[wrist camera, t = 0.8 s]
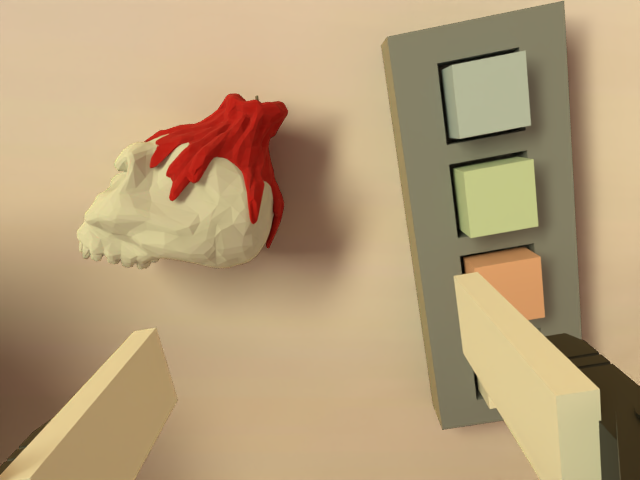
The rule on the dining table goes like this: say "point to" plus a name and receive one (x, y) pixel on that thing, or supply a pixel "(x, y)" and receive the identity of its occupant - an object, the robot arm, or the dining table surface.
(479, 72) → the key greyblue
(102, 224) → the candle
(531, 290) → the key terracotta
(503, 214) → the key sage
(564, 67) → the keypad
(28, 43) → the dining table surface
